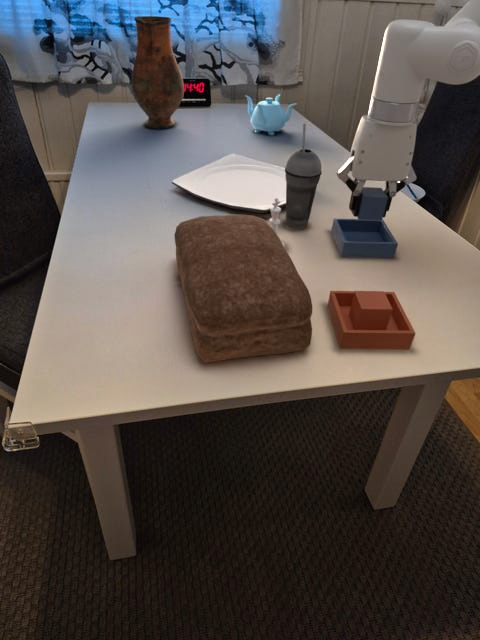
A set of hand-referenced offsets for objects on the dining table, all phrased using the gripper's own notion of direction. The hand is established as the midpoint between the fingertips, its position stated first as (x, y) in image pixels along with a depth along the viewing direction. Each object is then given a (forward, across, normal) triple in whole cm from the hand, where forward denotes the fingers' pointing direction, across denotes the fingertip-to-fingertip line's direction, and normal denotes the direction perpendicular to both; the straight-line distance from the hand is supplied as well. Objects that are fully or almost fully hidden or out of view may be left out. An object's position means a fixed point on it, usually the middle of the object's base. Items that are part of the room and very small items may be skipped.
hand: (367, 212), depth 84 cm
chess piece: (+7, +18, +2) cm, 19 cm away
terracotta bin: (+7, +5, +26) cm, 27 cm away
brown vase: (+8, +49, -83) cm, 96 cm away
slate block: (0, 0, 0) cm, 0 cm away
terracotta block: (+6, +5, +26) cm, 27 cm away
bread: (+7, +25, +20) cm, 33 cm away
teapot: (+7, +13, -77) cm, 78 cm away
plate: (+7, +22, -27) cm, 35 cm away
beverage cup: (+7, +12, -8) cm, 16 cm away
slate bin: (+7, 0, 0) cm, 7 cm away
